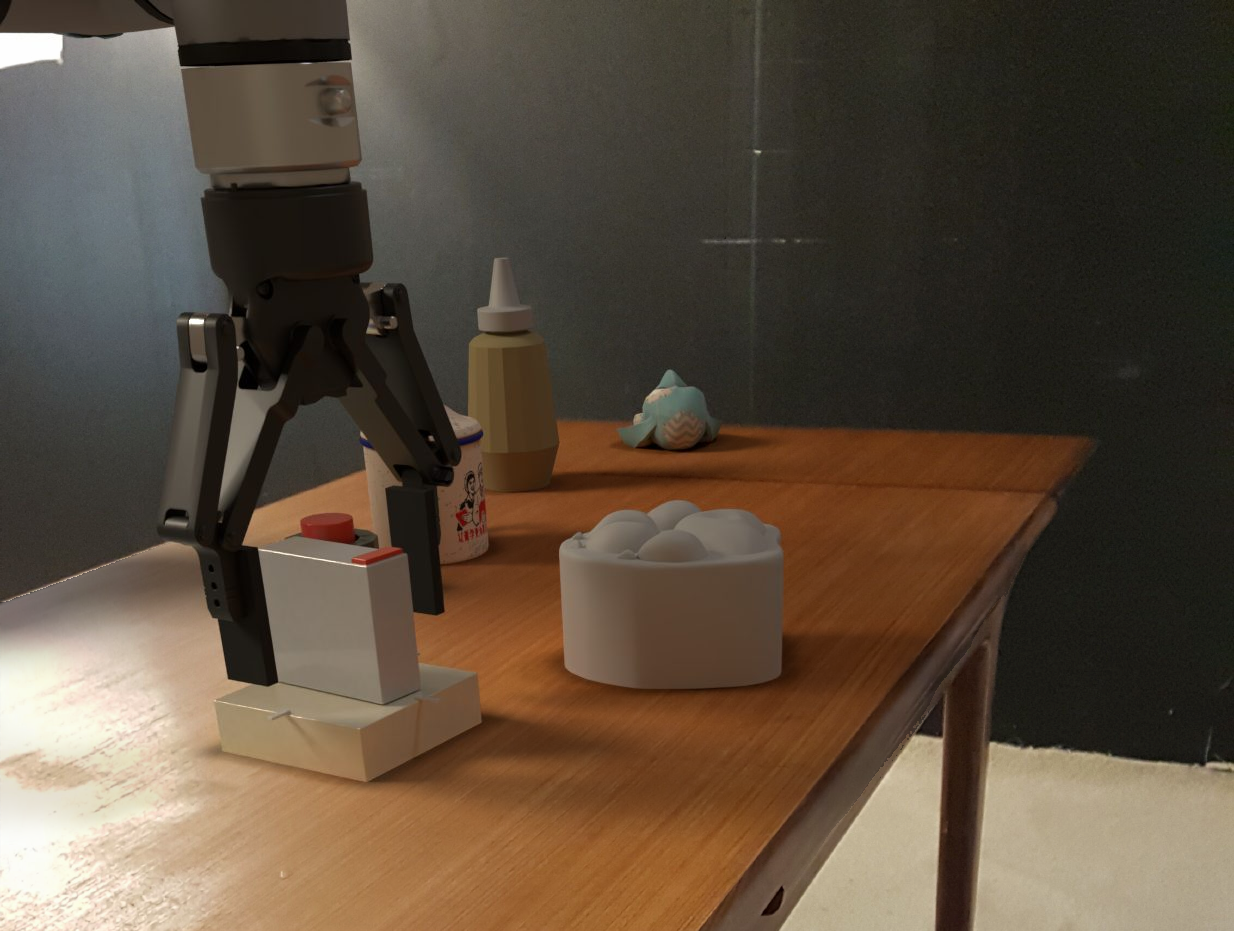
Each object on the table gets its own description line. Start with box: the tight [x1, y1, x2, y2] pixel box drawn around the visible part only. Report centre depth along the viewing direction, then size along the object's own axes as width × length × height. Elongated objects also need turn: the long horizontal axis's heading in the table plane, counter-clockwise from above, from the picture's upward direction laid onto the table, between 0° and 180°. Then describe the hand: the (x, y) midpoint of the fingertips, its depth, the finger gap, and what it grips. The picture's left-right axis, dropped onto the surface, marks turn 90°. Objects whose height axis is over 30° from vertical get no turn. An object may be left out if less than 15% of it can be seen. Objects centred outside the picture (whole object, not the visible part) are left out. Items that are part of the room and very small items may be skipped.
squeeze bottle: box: [467, 257, 560, 493], centre depth 134 cm, size 8×8×18 cm
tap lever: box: [257, 536, 421, 705], centre depth 82 cm, size 8×3×7 cm, turn 54°
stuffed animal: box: [615, 369, 724, 451], centre depth 152 cm, size 11×7×12 cm
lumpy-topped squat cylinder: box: [558, 499, 785, 690], centre depth 93 cm, size 10×13×9 cm
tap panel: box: [213, 651, 483, 783], centre depth 85 cm, size 12×12×3 cm
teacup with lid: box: [358, 404, 490, 566], centre depth 118 cm, size 12×9×12 cm
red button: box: [299, 512, 356, 544], centre depth 108 cm, size 4×4×2 cm
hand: (342, 644), depth 83 cm, fingers open, 13 cm apart
